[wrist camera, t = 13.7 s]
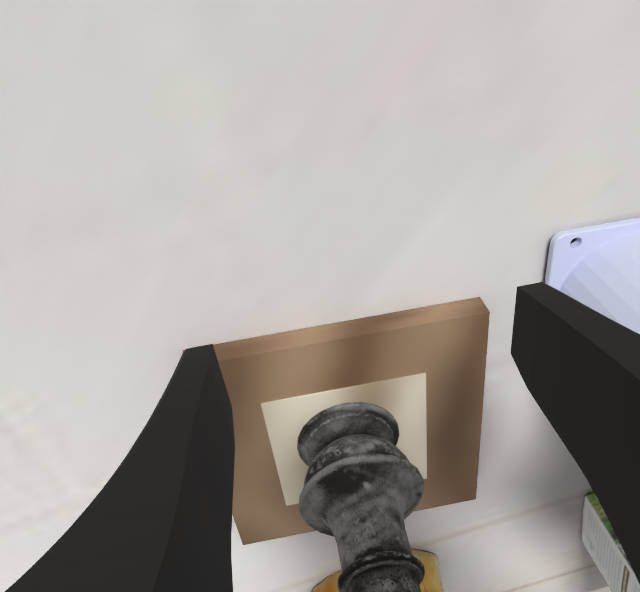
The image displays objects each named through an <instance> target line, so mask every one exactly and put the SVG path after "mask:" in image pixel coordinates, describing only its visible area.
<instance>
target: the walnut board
mask: <svg viewBox="0 0 640 592" xmlns="http://www.w3.org/2000/svg"><path fill="white" fill-rule="evenodd" d="M489 314H490V312H489V310H488V309H487V307H486V306H485V304H484V303H483V301H482V300H481V298H480V297H478V298H472V299H467V300H461V301H456V302H450V303H444V304H439V305H433V306H428V307H422V308H417V309H411V310H405V311H400V312H394V313H389V314H383V315H378V316H372V317H366V318H361V319H355V320H350V321H344V322H338V323H333V324H327V325H322V326H316V327H311V328H305V329H299V330H294V331H288V332H283V333H277V334H272V335H266V336H260V337H255V338H249V339H244V340H238V341H233V342H227V343H221V344H216V345H213V347H214V350H215V353H216V356H217V360H218V363H219V366H220V369H221V373H222V376H223V379H224V382H225V386H226V389H227V392H228V395H229V399H230V402H231V405H232V413H233V425H234V439H235V460H234V484H233V505H232V514H233V517H234V520H235V523H236V526H237V529H238V532H239V534H240V537H241V540H242V543H243V545H246V544H251V543H256V542H261V541H266V540H271V539H276V538H281V537H286V536H291V535H296V534H301V533H306V532H311V531H316V530H315V529H313V528H312V527H310V526H309V525H308V524H307V523H306V522H305V521H304V520H303V518H302V516H301V513H300V510H299V496H300V494H301V492H302V490H303V488H304V480H305V477H306V474H307V470H308V467H309V466H307V465H306V464H305V463H304V462H303V460H302V459H301V458H300V456H299V452H298V449H297V442H298V436H299V434H300V432H301V430H302V428H303V426H304V425H305V424H306V423H307V422H308V421H309V420H310V419H311V418H312V417H314V416H315V415H316V414H318V413H319V412H321V411H323V410H325V409H327V408H329V407H332V406H335V405H339V404H343V403H348V402H365V403H371V404H375V405H377V406H380V407H382V408H385V409H386V410H387V411H388V412H390V413H391V414H392V415H393V416H394V418H395V420H396V422H397V423H398V428H399V438H398V442H397V445H396V447H397V448H398V449H399V450H400V451H401V452H402V453H403V454H404V455H405V456H406V457H407V459H408V460H409V462H410V463H411V464H413V465H414V466H415V467H417V468H418V470H419V472H420V473H421V475H422V477H423V480H424V493H423V496H422V500H421V501H420V503H419V504H418V506H417V507H416V509H415V510H414V511H418V510H423V509H428V508H433V507H438V506H443V505H448V504H453V503H458V502H463V501H468V500H473V499H476V489H477V475H478V462H479V449H480V435H481V422H482V408H483V395H484V381H485V368H486V354H487V341H488V327H489ZM184 351H185V350H183V353H184Z"/></svg>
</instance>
